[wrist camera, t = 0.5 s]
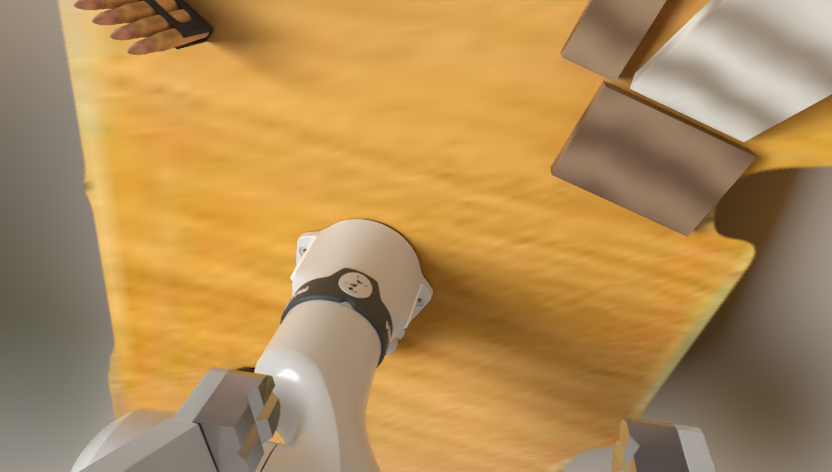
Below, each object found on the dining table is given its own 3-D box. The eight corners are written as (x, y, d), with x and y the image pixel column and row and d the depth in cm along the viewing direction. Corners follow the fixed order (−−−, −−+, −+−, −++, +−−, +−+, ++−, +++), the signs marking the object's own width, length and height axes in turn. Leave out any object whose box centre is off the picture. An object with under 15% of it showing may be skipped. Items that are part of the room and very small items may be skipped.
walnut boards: (682, 227, 55) (687, 236, 53) (508, 147, 54) (508, 154, 52) (946, -83, 38) (965, -83, 36) (701, -206, 37) (709, -213, 35)
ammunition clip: (214, 28, 53) (141, 52, 43) (206, 42, 54) (133, 67, 44) (128, -51, 50) (29, -47, 40) (121, -36, 51) (22, -28, 41)
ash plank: (747, 126, 48) (743, 142, 47) (634, 73, 47) (629, 88, 47) (1025, -35, 29) (1024, -11, 28) (841, -127, 28) (837, -105, 27)
